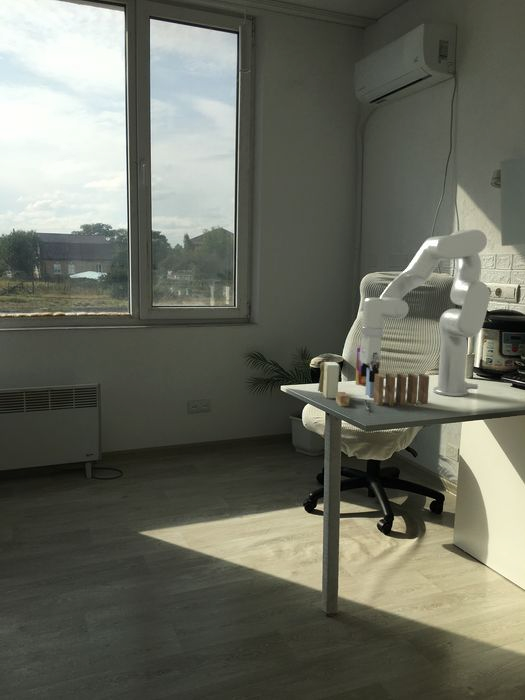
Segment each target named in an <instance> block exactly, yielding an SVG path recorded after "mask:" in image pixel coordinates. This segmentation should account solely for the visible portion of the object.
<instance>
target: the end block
mask: <svg viewBox="0 0 525 700" xmlns="http://www.w3.org/2000/svg"><path fill="white" fill-rule="evenodd" d="M335 403H336V405H338V406H340V407H349V406H350V395H349V394H348V393H346V392H345V391H338V392H336V398H335Z"/></svg>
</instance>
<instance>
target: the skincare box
mask: <svg viewBox="0 0 525 700" xmlns="http://www.w3.org/2000/svg"><path fill="white" fill-rule="evenodd" d="M324 362H325V363H324V383H323V392H322V395H323V396H324V398H325V399H336V392H339V376H340V375H339V373H340V364H339V363H338V362H337V361H324Z"/></svg>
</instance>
